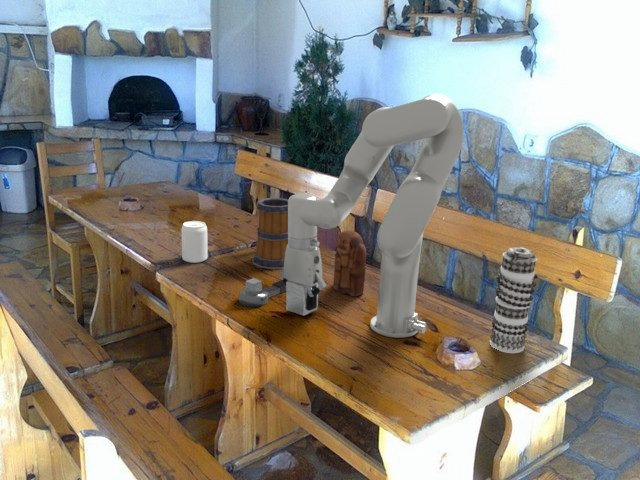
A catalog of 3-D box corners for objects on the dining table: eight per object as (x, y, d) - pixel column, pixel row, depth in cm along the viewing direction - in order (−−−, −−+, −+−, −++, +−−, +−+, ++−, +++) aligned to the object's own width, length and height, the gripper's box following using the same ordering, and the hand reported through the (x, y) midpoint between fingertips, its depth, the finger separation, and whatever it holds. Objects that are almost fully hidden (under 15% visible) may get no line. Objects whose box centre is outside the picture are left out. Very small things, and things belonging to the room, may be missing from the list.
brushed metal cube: (317, 308, 175) (318, 281, 173) (303, 315, 171) (303, 287, 168) (300, 303, 179) (300, 275, 176) (286, 309, 174) (286, 281, 172)
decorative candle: (497, 333, 168) (510, 241, 160) (531, 345, 163) (546, 250, 155) (481, 345, 161) (493, 250, 154) (516, 357, 156) (531, 259, 148)
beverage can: (179, 256, 213) (178, 221, 209) (203, 254, 216) (203, 219, 212) (185, 265, 206) (184, 228, 202) (210, 262, 209) (210, 226, 205)
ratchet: (303, 288, 192) (304, 269, 190) (253, 309, 176) (254, 288, 174) (283, 281, 196) (283, 262, 194) (233, 301, 180) (233, 281, 179)
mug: (241, 252, 220) (241, 194, 214) (280, 247, 226) (282, 191, 220) (260, 271, 203) (261, 209, 197) (303, 266, 209) (305, 206, 203)
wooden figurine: (325, 286, 194) (328, 228, 188) (341, 281, 198) (344, 225, 192) (353, 299, 186) (357, 239, 180) (369, 293, 190) (373, 235, 184)
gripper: (337, 245, 167) (336, 309, 172) (287, 232, 177) (287, 293, 182) (319, 252, 161) (318, 318, 167) (268, 238, 171) (268, 301, 177)
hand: (302, 305), depth 174 cm, fingers closed on brushed metal cube, 6 cm apart
